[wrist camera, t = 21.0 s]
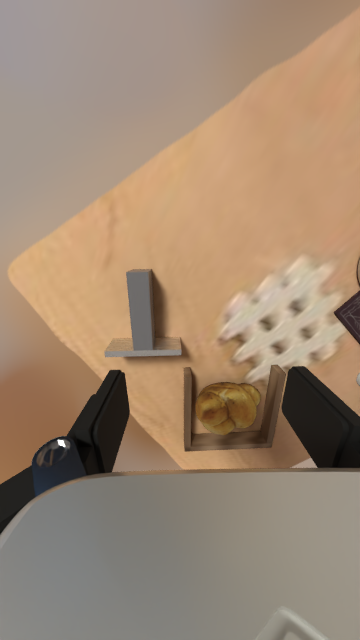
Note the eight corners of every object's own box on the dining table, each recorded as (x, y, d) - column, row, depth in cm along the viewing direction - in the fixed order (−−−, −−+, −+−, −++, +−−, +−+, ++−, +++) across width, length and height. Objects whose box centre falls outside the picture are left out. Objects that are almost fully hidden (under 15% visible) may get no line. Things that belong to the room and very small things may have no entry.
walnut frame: (277, 364, 38) (286, 373, 35) (265, 435, 44) (271, 447, 41) (183, 367, 38) (184, 376, 35) (183, 438, 43) (184, 451, 41)
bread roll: (255, 372, 39) (276, 401, 31) (255, 411, 42) (273, 445, 34) (191, 380, 39) (196, 410, 31) (195, 418, 42) (201, 454, 34)
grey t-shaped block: (179, 268, 32) (180, 271, 27) (180, 341, 36) (181, 355, 31) (104, 269, 31) (92, 272, 27) (114, 343, 35) (105, 357, 31)
